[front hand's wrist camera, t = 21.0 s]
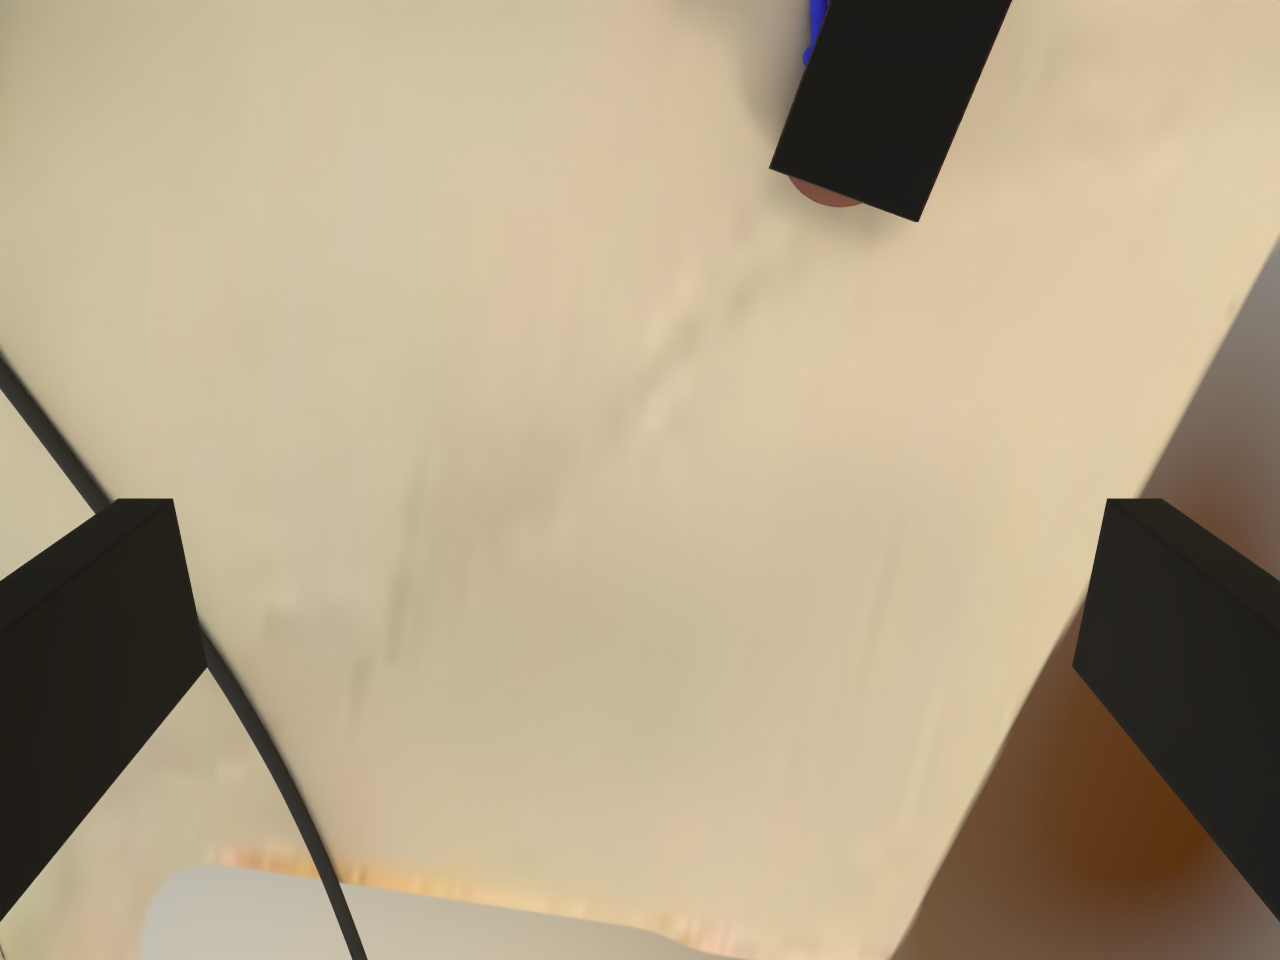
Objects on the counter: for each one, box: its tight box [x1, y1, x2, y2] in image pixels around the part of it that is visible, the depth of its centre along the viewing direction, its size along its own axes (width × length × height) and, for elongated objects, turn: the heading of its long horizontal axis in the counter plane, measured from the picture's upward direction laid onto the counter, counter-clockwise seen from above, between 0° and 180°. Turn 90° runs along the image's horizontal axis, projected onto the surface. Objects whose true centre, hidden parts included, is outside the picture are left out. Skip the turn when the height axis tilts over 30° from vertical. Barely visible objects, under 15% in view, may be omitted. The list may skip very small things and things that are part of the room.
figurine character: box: [769, 0, 1012, 222], centre depth 34 cm, size 7×8×15 cm
